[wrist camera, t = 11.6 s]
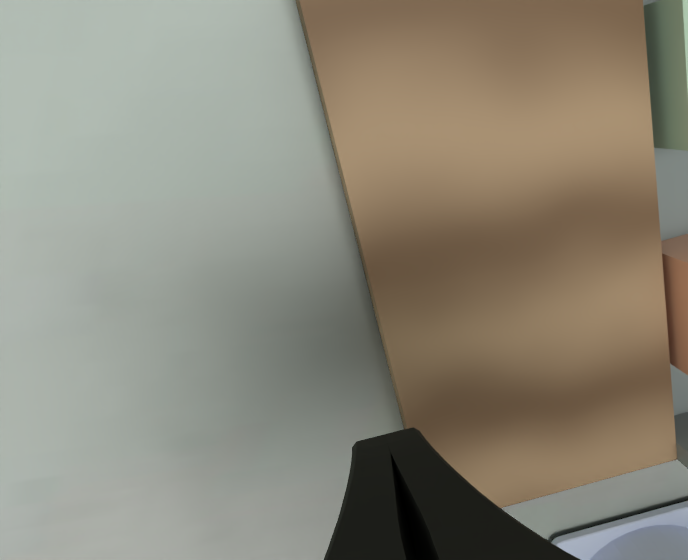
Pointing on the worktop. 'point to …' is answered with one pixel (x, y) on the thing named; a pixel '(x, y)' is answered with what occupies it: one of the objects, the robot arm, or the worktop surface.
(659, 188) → the tray
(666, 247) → the terracotta tile
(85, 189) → the worktop surface
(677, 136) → the sage tile
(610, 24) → the walnut board
